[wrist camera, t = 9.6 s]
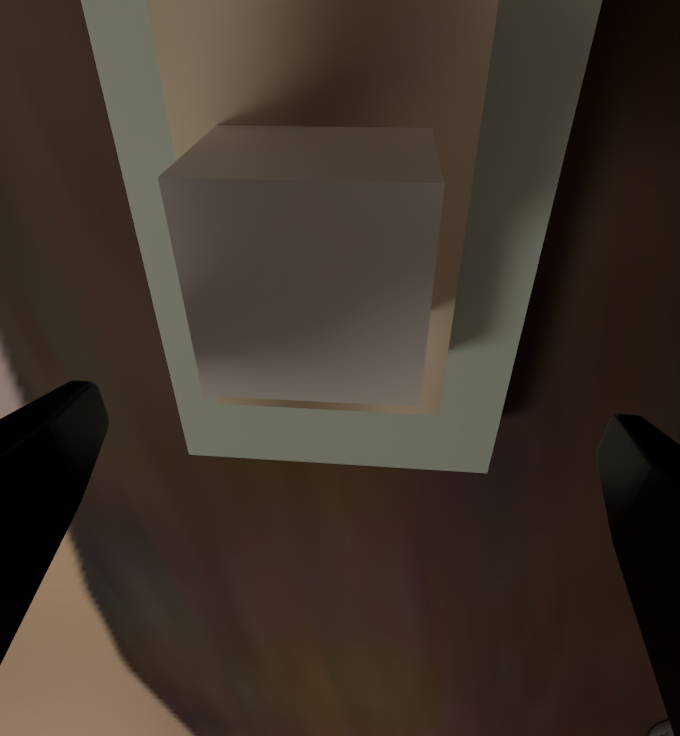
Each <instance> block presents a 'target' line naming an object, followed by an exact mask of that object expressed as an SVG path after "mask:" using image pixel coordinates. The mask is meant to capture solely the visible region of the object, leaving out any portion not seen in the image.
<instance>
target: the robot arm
mask: <svg viewBox="0 0 680 736" xmlns="http://www.w3.org/2000/svg"><path fill="white" fill-rule="evenodd" d="M108 425H109V417H108V413H107V410H106V407H105V404H104V401H103V398H102V395H101V392H100V389H99V387H98V385H97V384H96V383H94V382H91V381H70V382H68V383H66V384H64V385H62V386H61V387H59V388H57V389H55V390H53V391H51V392H49V393H48V394H46V395H44V396H42V397H40V398H38V399H36V400H35V401H33V402H31V403H29V404H27V405H25V406H23V407H22V408H20V409H18V410H16V411H14V412H12V413H11V414H9V415H7V416H5V417H3V418H1V419H0V664H1V662H2V660H3V658H4V656H5V654H6V652H7V650H8V648H9V646H10V644H11V642H12V640H13V638H14V636H15V634H16V632H17V630H18V628H19V626H20V624H21V622H22V620H23V618H24V616H25V614H26V612H27V610H28V608H29V606H30V604H31V602H32V600H33V598H34V596H35V594H36V592H37V590H38V588H39V586H40V584H41V582H42V580H43V578H44V575H45V574H46V572H47V570H48V568H49V566H50V564H51V562H52V560H53V558H54V556H55V553H56V551H57V549H58V548H59V546H60V543H61V541H62V539H63V537H64V535H65V533H66V531H67V529H68V527H69V525H70V523H71V521H72V519H73V517H74V515H75V513H76V511H77V509H78V507H79V505H80V503H81V500H82V498H83V495H84V493H85V490H86V488H87V485H88V482H89V479H90V477H91V474H92V471H93V468H94V466H95V463H96V460H97V457H98V455H99V452H100V449H101V446H102V444H103V441H104V438H105V435H106V433H107V430H108ZM597 464H598V469H599V475H600V480H601V485H602V490H603V496H604V501H605V506H606V511H607V516H608V522H609V527H610V532H611V536H612V541H613V545H614V548H615V552H616V555H617V558H618V561H619V565H620V568H621V571H622V574H623V577H624V580H625V583H626V587H627V590H628V593H629V596H630V599H631V602H632V605H633V609H634V612H635V615H636V618H637V621H638V624H639V627H640V630H641V634H642V637H643V640H644V643H645V646H646V649H647V652H648V656H649V659H650V662H651V665H652V668H653V671H654V674H655V678H656V681H657V684H658V687H659V690H660V693H661V696H662V700H663V703H664V706H665V709H666V712H667V715H668V718H669V721H670V725H671V728H672V731H673V734H674V736H680V445H679V444H678V443H676V442H675V441H674V440H672V439H671V438H670V437H668V436H667V435H666V434H664V433H663V432H662V431H660V430H659V429H658V428H656V427H655V426H654V425H652V424H651V423H650V422H648V421H647V420H646V419H644V418H643V417H641V416H638V415H626V414H616V415H614V416H612V417H611V419H610V420H609V423H608V425H607V427H606V430H605V432H604V435H603V437H602V440H601V442H600V445H599V447H598V451H597Z"/></svg>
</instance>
